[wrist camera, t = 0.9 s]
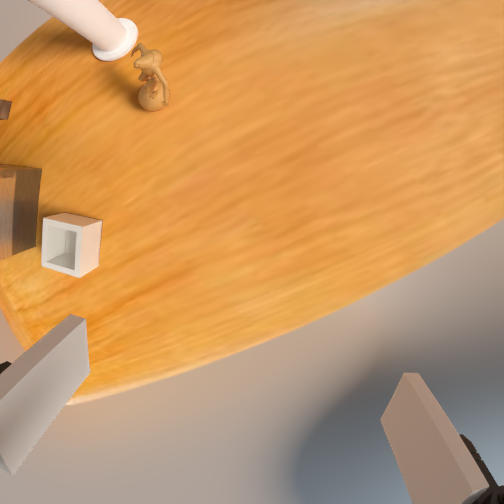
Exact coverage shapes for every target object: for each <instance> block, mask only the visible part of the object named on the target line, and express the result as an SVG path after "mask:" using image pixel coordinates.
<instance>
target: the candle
mask: <svg viewBox="0 0 504 504" xmlns="http://www.w3.org/2000/svg"><path fill="white" fill-rule="evenodd" d="M28 1H30V2H31V3H33V4H35V5H36V6H38V7H39V8H41V9H43V10H44V11H46V12H47V13H49V14H50V15H52V16H53V17H55V18H56V19H58V20H59V21H61V22H62V23H64V24H65V25H67V26H68V27H70V28H71V29H73V30H74V31H76V32H77V33H79V34H80V35H82V36H83V37H85V38H86V39H87V40H89V41H90V42H92V43H93V44H92V49H93V53H94V55H95V56H96V57H97V58H98V59H100V60H102V61H114V60H117V59H119V58H121V57H123V56H124V55H126V54H127V53H128V52H129V51H130V50H131V49H132V48H133V46H134V45H135V43H136V40H137V37H138V29H137V26H136V25H135V23H134V22H133V21H131V20H129V19H126V18H119V19H117V18H116V17H115V16H114V15H113V14H111V13H110V12H109V11H108V10H107V9H106V8H105V7H104V6H103V5H102V4H101V3H100V2H99V1H98V0H28Z"/></svg>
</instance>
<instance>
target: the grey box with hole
mask: <svg viewBox="0 0 504 504" xmlns="http://www.w3.org/2000/svg"><path fill="white" fill-rule="evenodd" d="M41 173H42V169H38V168H31V167H23V166H15V165H6V164H0V260H2V259H5V258H7V257H10V256H12V255H15V254H17V253H20V252H22V251H25V250H28V249H30V248H33V247H36V228H37V212H38V200H39V190H40V181H41Z"/></svg>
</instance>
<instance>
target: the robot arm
mask: <svg viewBox="0 0 504 504" xmlns="http://www.w3.org/2000/svg"><path fill="white" fill-rule="evenodd" d="M89 373H90V366H89V356H88V345H87V331H86V319H85V318H81V317H78V316H75V315H72V314H70V315H69V316H68V317H67V318H65V319H64V320H63V321H62V322H60V323H59V324H58V325H57V326H56V327H54V328H53V329H52V330H51V331H50V332H48V333H47V334H46V335H45V336H44V337H42V338H41V339H40V340H39V341H38V342H37V343H35V344H34V345H33V346H32V347H31V348H29V349H28V350H27V351H26V352H25V353H24V354H23V355H21V356H20V357H19V358H18V359H17V360H16V361H15V362H14V363H9V362H5V363H2V364H0V468H1V469H3V470H4V471H6V472H7V473H9V474H11V475H12V476H13V475H14V474H15V472H16V471H17V470H18V468H19V467H20V465H21V464H22V462H23V461H24V459H25V458H26V457H27V455H28V454H29V453H30V451H31V450H32V448H33V447H34V445H35V444H36V443H37V441H38V440H39V439H40V437H41V436H42V435H43V433H44V432H45V430H46V429H47V428H48V427H49V425H50V424H51V423H52V421H53V420H54V419H55V417H56V416H57V415H58V413H59V412H60V411H61V409H62V408H63V407H64V405H65V404H66V403H67V402H68V400H69V399H70V398H71V396H72V395H73V394H74V393H75V391H76V390H77V389H78V387H79V386H80V385H81V384H82V382H83V381H84V380H85V378H86V377H87V376H88V375H89ZM380 421H381V424H382V426H383V429H384V431H385V434H386V436H387V438H388V441H389V443H390V445H391V448H392V451H393V453H394V456H395V458H396V461H397V463H398V466H399V469H400V471H401V474H402V476H403V479H404V481H405V484H406V487H407V489H408V492H409V495H410V497H411V500H412V503H413V504H504V486H498V485H497V483H496V482H495V480H494V478H493V477H492V475H491V473H490V472H489V470H488V468H487V467H486V465H485V463H484V462H483V460H481V457H480V455H479V454H478V453H477V450H476V449H475V447H474V446H473V444H472V443H471V441H469V440H468V439H467V438H466V437H465V436H464V435H462V434H461V435H459V434H458V433H457V431H456V429H455V428H454V426H453V425H452V423H451V422H450V420H449V419H448V417H447V415H446V414H445V412H444V411H443V409H442V408H441V406H440V405H439V403H438V402H437V400H436V399H435V397H434V396H433V394H432V393H431V391H430V390H429V388H428V387H427V385H426V384H425V382H424V381H423V380H422V378H421V377H420V375H419V374H418V373H404V374H403V376H402V378H401V380H400V382H399V384H398V386H397V388H396V390H395V393H394V394H393V396H392V398H391V400H390V402H389V404H388V406H387V408H386V410H385V412H384V414H383V416H382V418H381V420H380Z"/></svg>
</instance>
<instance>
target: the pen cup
mask: <svg viewBox="0 0 504 504" xmlns="http://www.w3.org/2000/svg"><path fill="white" fill-rule="evenodd" d="M102 222H103V220H98V219H94V218H89V217H84V216H80V215H75V214H70V213H66V212H65V213H61V214H57V215H52V216H48V217H44V218H43V231H42V266H43V267H46V268H49V269H53V270H56V271H59V272H62V273H65V274H69V275H72V276H75V277H78V278H80V277H82V276H83V275H85V274H87V273H88V272H90V271H92V270H93V269H95V268H96V267H98V266H99V254H100V242H101V232H102Z"/></svg>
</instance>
